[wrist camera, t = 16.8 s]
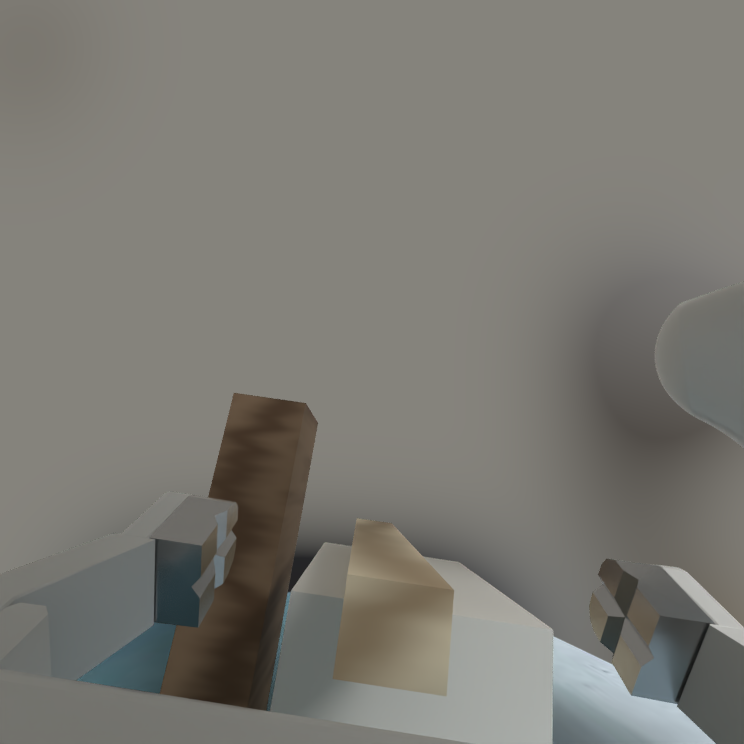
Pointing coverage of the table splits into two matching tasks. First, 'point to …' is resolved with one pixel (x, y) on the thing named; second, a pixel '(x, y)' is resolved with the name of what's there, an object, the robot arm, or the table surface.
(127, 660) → the table surface
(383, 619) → the slat
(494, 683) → the white upright block
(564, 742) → the table surface
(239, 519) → the post
